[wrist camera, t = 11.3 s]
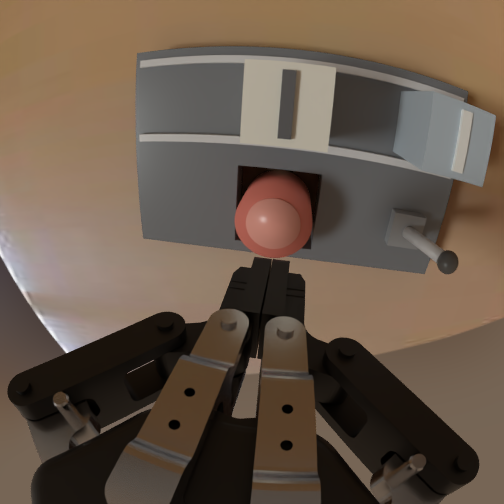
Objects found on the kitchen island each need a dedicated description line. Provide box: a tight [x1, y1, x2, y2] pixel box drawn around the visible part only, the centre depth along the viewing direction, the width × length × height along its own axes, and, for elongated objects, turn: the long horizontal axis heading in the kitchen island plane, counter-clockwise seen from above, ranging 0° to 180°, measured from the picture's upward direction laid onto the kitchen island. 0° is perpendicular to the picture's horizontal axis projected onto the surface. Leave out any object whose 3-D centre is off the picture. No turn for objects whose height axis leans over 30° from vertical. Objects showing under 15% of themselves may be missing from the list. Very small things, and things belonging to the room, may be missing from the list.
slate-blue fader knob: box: [393, 91, 496, 187], centre depth 13 cm, size 4×4×5 cm
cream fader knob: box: [240, 59, 336, 152], centre depth 14 cm, size 4×4×5 cm
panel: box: [136, 46, 468, 274], centre depth 17 cm, size 22×14×7 cm, turn 86°
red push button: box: [235, 170, 312, 258], centre depth 19 cm, size 5×5×4 cm
